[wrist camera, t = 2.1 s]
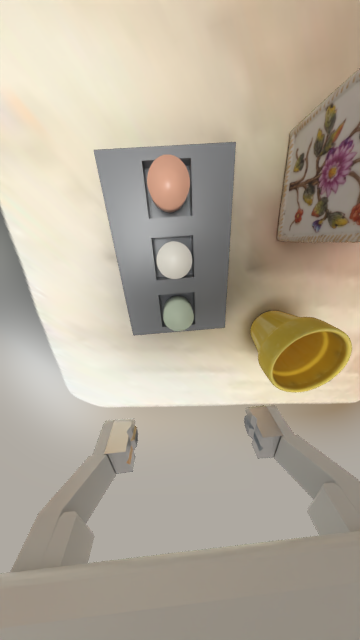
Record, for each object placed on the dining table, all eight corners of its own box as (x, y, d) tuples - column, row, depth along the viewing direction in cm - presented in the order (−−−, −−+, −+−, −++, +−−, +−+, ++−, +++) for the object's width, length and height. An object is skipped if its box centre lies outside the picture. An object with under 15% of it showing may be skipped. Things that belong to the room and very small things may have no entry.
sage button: (190, 294, 24) (193, 301, 21) (191, 320, 25) (194, 329, 23) (162, 297, 24) (161, 304, 21) (165, 322, 25) (164, 332, 23)
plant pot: (293, 347, 32) (340, 387, 23) (239, 355, 32) (266, 398, 23) (302, 295, 28) (366, 321, 19) (240, 305, 28) (274, 335, 19)
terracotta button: (185, 166, 18) (189, 153, 15) (187, 211, 19) (190, 206, 17) (147, 168, 17) (144, 155, 15) (153, 213, 19) (150, 209, 17)
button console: (226, 155, 19) (235, 142, 17) (219, 319, 28) (224, 327, 26) (104, 162, 19) (93, 149, 16) (136, 326, 28) (133, 335, 25)
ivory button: (188, 240, 21) (191, 240, 18) (189, 273, 22) (192, 277, 20) (156, 242, 21) (154, 242, 18) (160, 275, 22) (158, 280, 20)
